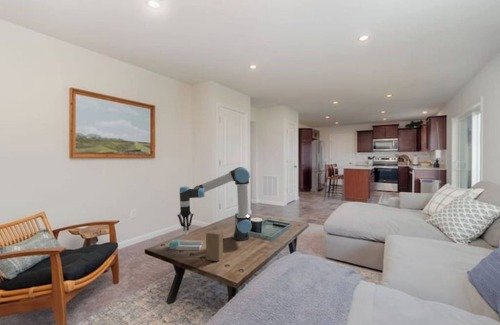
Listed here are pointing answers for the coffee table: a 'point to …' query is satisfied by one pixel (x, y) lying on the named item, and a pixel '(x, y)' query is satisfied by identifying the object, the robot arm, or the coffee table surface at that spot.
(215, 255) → the wooden block
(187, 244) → the chute
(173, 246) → the teal block
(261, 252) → the coffee table surface
